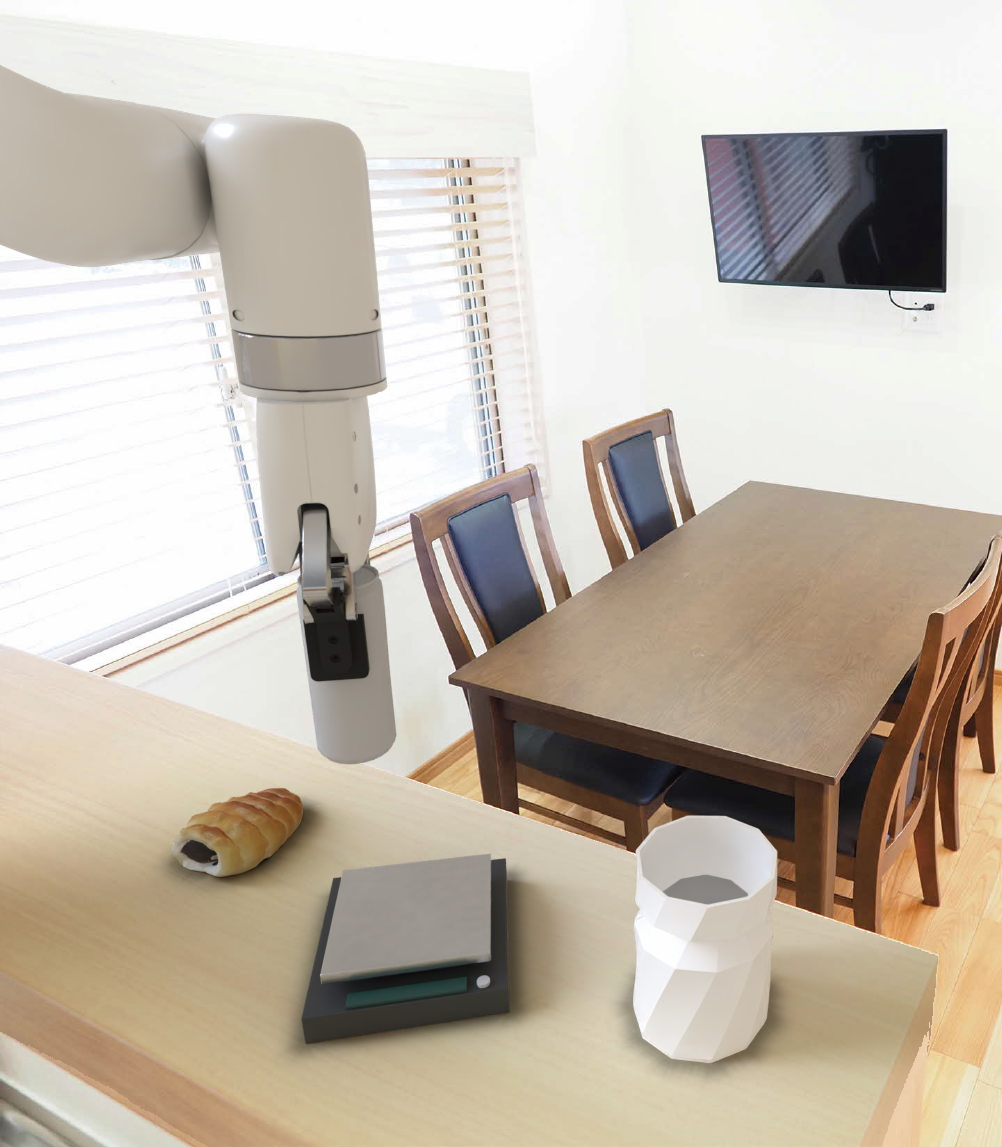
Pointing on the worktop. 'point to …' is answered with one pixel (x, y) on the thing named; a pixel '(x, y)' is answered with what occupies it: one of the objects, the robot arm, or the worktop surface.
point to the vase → (703, 936)
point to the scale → (411, 985)
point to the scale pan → (410, 919)
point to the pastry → (238, 832)
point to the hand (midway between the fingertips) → (346, 653)
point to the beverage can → (356, 686)
